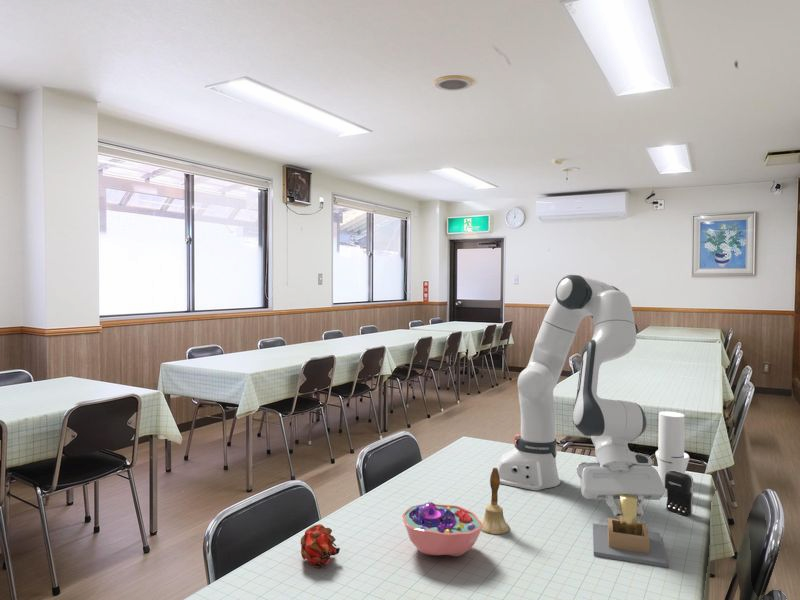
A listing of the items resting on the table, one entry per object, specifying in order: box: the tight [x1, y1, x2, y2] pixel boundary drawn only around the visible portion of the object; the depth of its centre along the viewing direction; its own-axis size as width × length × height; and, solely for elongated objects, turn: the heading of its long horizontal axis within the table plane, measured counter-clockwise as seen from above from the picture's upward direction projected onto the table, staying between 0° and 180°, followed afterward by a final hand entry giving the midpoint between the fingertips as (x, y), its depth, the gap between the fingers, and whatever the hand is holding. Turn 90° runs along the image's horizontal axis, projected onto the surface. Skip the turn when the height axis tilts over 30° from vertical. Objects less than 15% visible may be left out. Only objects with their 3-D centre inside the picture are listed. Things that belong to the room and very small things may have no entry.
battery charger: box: [665, 470, 694, 517], centre depth 151 cm, size 7×4×11 cm, turn 33°
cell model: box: [401, 501, 482, 557], centre depth 129 cm, size 17×20×11 cm
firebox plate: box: [592, 517, 669, 568], centre depth 132 cm, size 16×16×4 cm
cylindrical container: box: [657, 410, 686, 498], centre depth 164 cm, size 7×7×25 cm
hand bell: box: [480, 467, 511, 535], centre depth 141 cm, size 8×8×16 cm
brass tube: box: [618, 494, 638, 535], centre depth 131 cm, size 4×4×10 cm
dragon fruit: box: [300, 523, 341, 569], centre depth 124 cm, size 8×8×12 cm
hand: (629, 515), depth 131 cm, fingers closed on brass tube, 4 cm apart
